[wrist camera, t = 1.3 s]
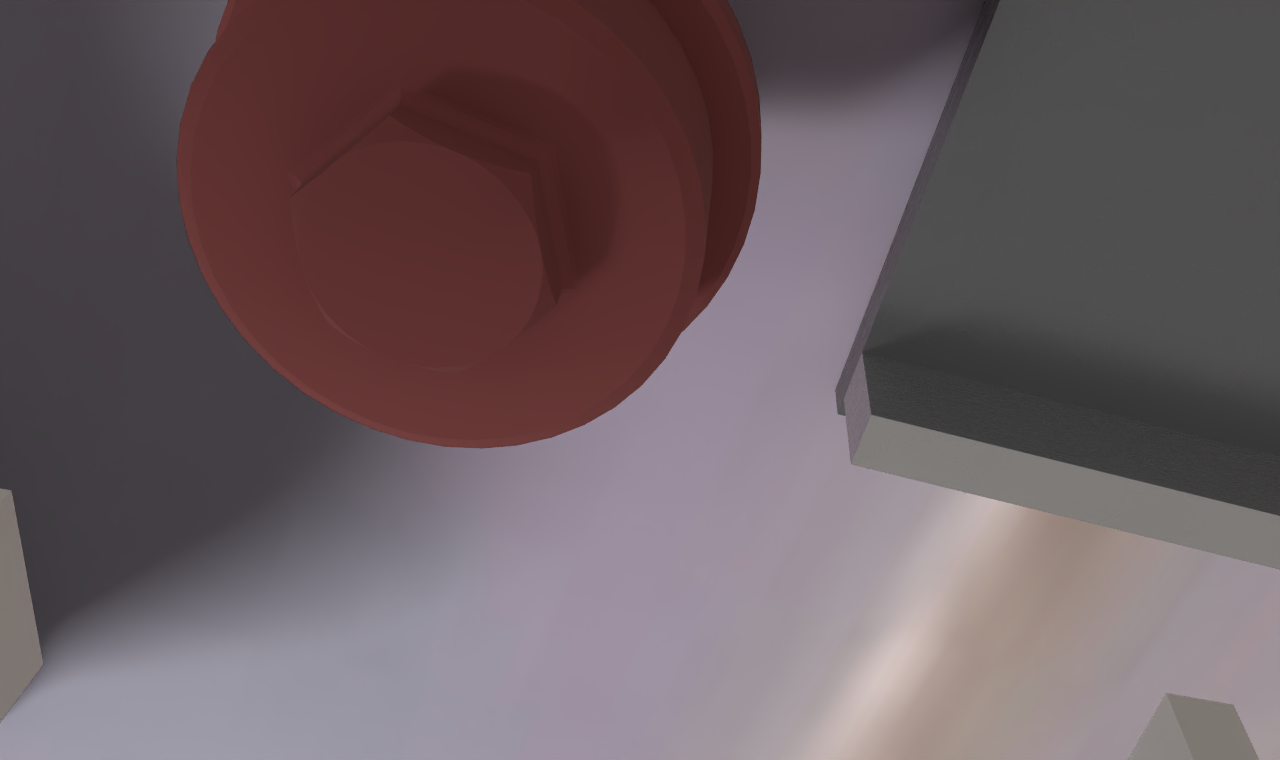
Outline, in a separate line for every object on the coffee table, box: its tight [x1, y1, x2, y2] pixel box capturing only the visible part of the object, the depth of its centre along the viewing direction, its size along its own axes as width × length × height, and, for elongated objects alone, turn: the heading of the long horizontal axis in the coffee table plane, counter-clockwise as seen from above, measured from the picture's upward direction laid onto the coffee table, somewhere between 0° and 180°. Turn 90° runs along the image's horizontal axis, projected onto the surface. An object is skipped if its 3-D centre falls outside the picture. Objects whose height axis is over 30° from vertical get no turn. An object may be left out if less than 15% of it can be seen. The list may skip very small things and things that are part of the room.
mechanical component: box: [177, 0, 761, 448], centre depth 22 cm, size 12×10×10 cm
